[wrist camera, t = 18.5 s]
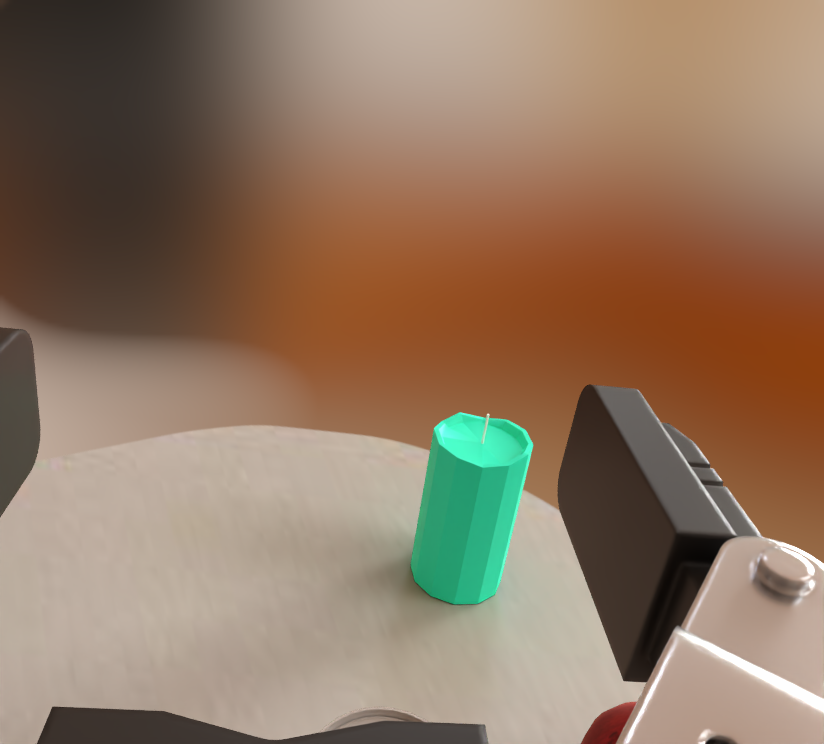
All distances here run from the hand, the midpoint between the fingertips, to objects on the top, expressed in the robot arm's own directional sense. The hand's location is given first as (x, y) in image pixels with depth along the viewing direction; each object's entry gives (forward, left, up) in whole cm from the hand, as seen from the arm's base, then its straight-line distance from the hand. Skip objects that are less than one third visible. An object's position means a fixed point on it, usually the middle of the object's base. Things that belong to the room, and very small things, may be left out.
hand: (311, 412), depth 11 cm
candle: (+10, +29, -28) cm, 42 cm away
